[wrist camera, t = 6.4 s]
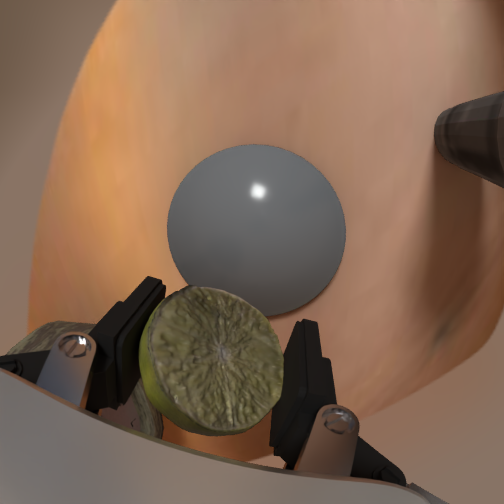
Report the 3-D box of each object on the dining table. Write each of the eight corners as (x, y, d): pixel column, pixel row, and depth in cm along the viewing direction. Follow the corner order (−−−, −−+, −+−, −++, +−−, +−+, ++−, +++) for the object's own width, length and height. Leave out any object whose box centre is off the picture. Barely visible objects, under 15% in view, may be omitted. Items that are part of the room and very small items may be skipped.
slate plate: (189, 127, 21) (185, 126, 20) (366, 173, 21) (369, 175, 20) (161, 285, 26) (157, 290, 25) (311, 326, 26) (312, 333, 25)
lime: (164, 265, 12) (99, 342, 7) (294, 282, 11) (297, 377, 7) (169, 358, 13) (127, 444, 9) (279, 374, 13) (272, 472, 8)
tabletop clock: (178, 404, 31) (102, 609, 8) (109, 395, 32) (15, 561, 9) (144, 287, 26) (-43, 541, 3) (67, 286, 27) (-108, 459, 4)
